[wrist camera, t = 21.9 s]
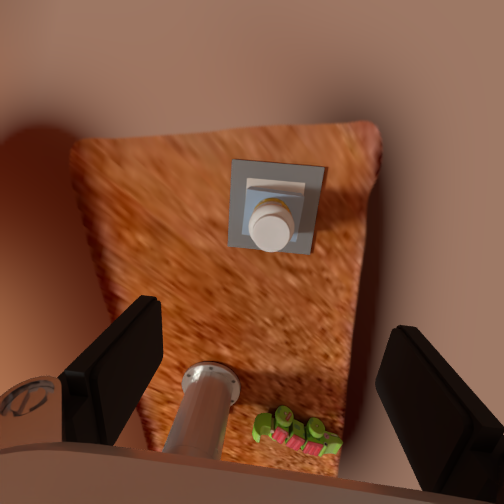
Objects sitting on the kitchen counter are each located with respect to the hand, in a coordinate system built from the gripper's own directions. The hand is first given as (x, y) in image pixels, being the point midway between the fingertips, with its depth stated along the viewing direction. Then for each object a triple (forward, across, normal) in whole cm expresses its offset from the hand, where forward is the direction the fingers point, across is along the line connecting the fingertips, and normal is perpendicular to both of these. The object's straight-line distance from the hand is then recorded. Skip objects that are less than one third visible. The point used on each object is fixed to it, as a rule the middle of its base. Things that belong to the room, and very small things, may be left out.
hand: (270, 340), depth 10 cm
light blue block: (+32, 0, 0) cm, 32 cm away
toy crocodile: (+33, -10, +47) cm, 58 cm away
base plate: (+32, 0, 0) cm, 32 cm away
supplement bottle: (+27, 0, 0) cm, 27 cm away
